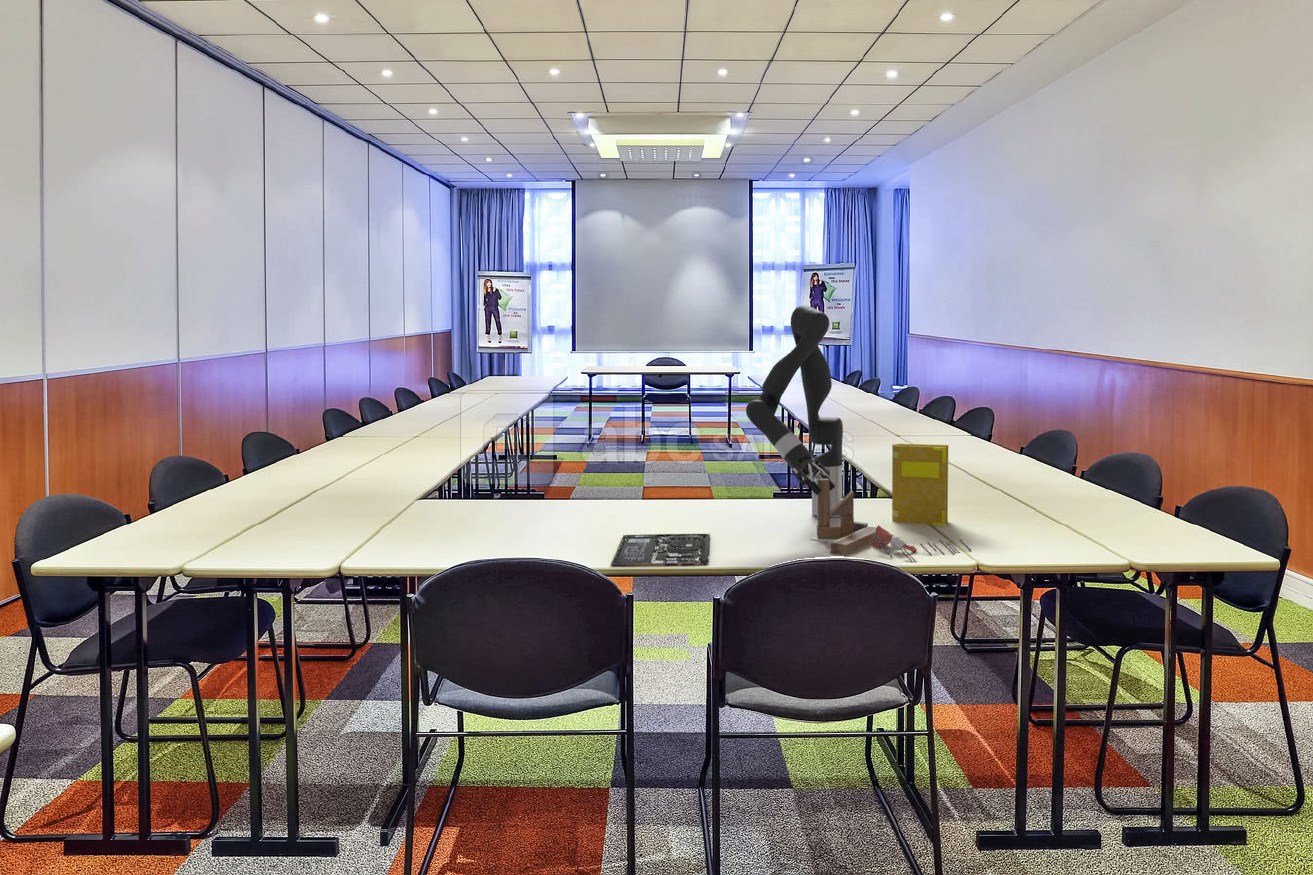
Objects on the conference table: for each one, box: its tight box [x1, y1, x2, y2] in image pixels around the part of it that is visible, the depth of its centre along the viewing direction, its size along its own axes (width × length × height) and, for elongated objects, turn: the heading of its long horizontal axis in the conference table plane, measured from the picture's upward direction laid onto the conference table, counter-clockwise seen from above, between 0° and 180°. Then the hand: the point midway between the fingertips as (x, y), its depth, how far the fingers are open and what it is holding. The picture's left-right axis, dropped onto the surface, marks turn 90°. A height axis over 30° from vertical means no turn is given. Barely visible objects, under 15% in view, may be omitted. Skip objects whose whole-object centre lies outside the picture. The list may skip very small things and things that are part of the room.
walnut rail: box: [829, 521, 877, 556], centre depth 275 cm, size 10×24×4 cm, turn 142°
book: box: [891, 443, 949, 527], centre depth 300 cm, size 17×7×25 cm, turn 65°
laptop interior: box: [610, 533, 711, 567], centre depth 275 cm, size 35×28×2 cm
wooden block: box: [816, 478, 855, 539], centre depth 282 cm, size 4×11×18 cm, turn 84°
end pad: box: [810, 535, 840, 544], centre depth 281 cm, size 12×8×1 cm, turn 52°
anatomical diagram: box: [870, 524, 972, 563], centre depth 265 cm, size 21×9×25 cm
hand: (826, 490), depth 281 cm, fingers open, 8 cm apart
